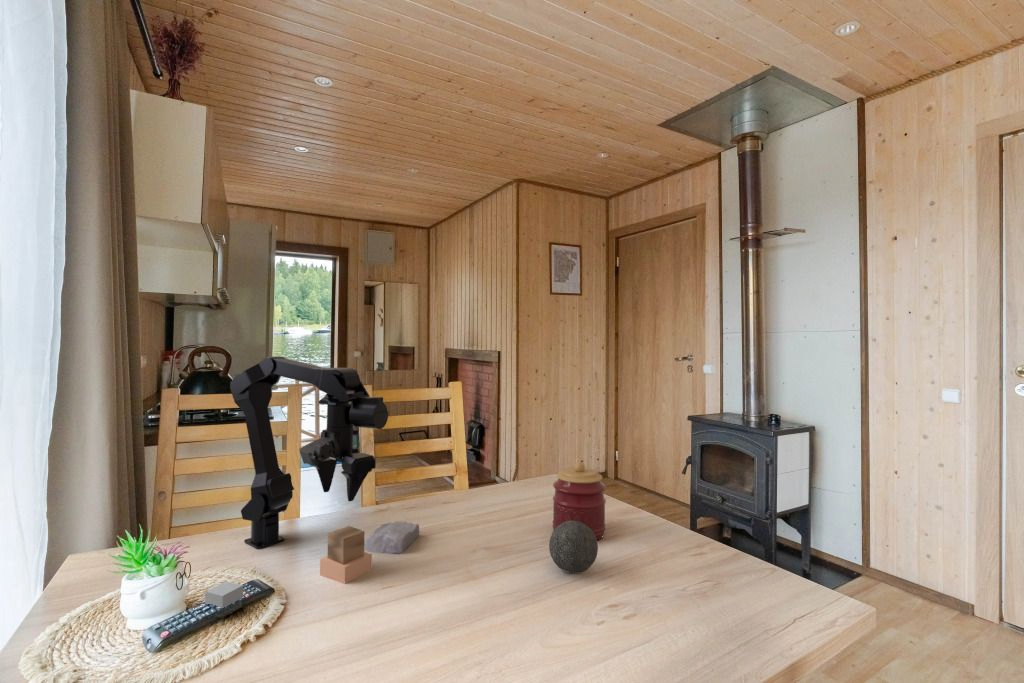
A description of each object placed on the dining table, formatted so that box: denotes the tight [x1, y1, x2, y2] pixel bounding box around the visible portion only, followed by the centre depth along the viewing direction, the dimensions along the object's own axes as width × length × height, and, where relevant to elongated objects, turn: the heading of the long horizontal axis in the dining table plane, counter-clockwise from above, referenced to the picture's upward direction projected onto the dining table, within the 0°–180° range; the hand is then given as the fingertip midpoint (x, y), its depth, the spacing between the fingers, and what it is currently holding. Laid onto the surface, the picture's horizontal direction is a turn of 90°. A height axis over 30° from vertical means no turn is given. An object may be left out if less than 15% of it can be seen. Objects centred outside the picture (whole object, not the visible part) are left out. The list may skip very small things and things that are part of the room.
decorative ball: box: [548, 521, 599, 574], centre depth 103 cm, size 10×10×10 cm
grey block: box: [204, 580, 244, 608], centre depth 86 cm, size 4×4×4 cm
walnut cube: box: [327, 525, 365, 564], centre depth 100 cm, size 5×5×5 cm
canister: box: [552, 461, 607, 540], centre depth 123 cm, size 13×13×18 cm
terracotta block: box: [319, 551, 373, 585], centre depth 101 cm, size 7×7×4 cm
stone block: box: [364, 520, 420, 555], centre depth 116 cm, size 12×5×10 cm
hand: (338, 496), depth 109 cm, fingers open, 9 cm apart
